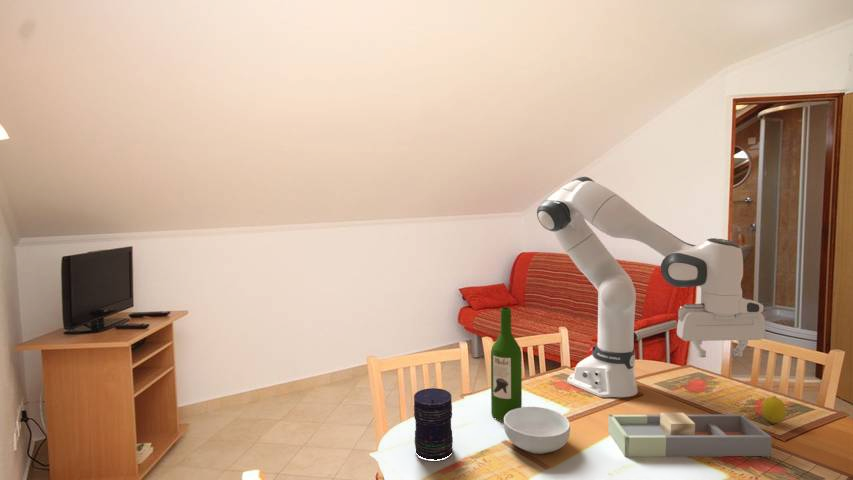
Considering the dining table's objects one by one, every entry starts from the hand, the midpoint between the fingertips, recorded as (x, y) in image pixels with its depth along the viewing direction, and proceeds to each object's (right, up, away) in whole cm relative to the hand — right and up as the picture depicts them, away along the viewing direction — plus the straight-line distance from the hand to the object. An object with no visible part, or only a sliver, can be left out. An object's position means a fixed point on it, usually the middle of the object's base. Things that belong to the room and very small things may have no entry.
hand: (719, 356), depth 121 cm
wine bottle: (-51, -23, +21) cm, 59 cm away
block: (-10, -21, +3) cm, 23 cm away
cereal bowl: (-46, -25, +4) cm, 52 cm away
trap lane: (-7, -23, +3) cm, 25 cm away
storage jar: (-73, -25, +2) cm, 77 cm away
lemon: (+22, -22, +12) cm, 34 cm away
